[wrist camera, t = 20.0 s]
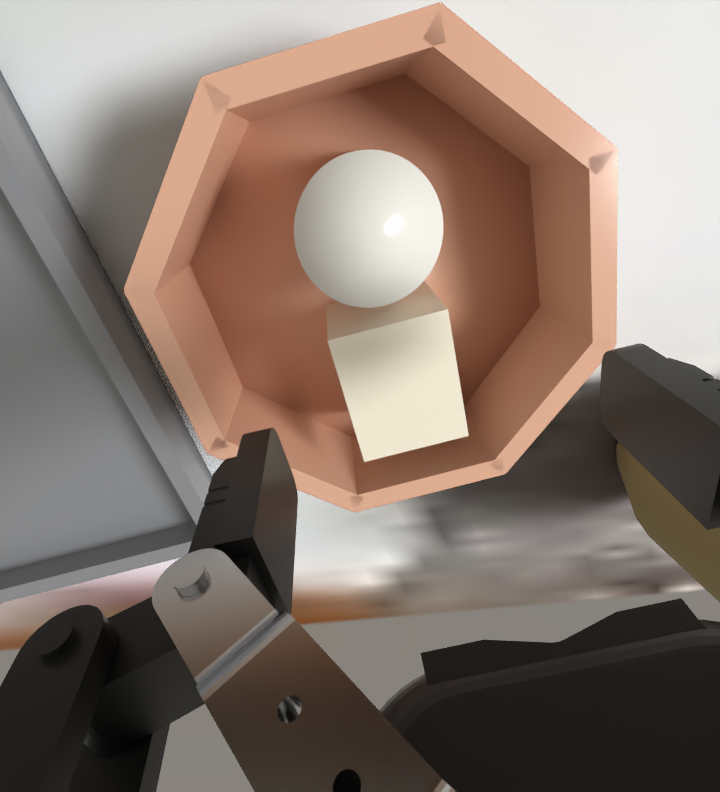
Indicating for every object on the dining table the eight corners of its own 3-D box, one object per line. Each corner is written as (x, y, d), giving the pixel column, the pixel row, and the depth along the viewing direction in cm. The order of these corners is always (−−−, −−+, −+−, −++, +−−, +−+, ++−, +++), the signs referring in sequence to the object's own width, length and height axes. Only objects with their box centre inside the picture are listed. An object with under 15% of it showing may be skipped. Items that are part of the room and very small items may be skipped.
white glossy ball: (283, 171, 16) (271, 175, 13) (404, 135, 16) (428, 128, 12) (320, 291, 18) (319, 323, 15) (428, 260, 18) (454, 286, 14)
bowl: (118, 135, 16) (38, 126, 11) (532, 8, 15) (619, -54, 11) (264, 464, 23) (250, 538, 18) (556, 388, 22) (615, 446, 17)
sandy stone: (326, 305, 18) (327, 341, 15) (423, 279, 18) (447, 309, 15) (357, 410, 21) (364, 462, 17) (443, 387, 21) (468, 435, 17)
